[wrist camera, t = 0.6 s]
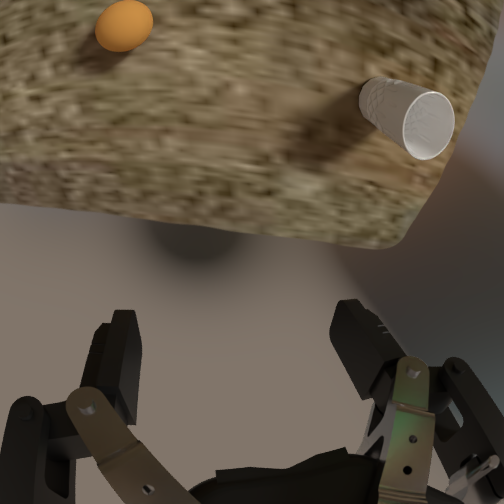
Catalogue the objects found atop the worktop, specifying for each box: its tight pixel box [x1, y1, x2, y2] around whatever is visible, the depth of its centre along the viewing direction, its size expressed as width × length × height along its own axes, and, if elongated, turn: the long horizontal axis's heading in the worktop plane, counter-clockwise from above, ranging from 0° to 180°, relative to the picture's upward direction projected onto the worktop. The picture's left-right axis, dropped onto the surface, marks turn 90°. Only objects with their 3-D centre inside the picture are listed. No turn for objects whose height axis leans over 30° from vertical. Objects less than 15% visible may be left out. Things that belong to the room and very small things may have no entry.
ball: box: [95, 0, 153, 52], centre depth 19 cm, size 6×6×6 cm
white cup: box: [359, 76, 454, 160], centre depth 27 cm, size 8×8×10 cm
